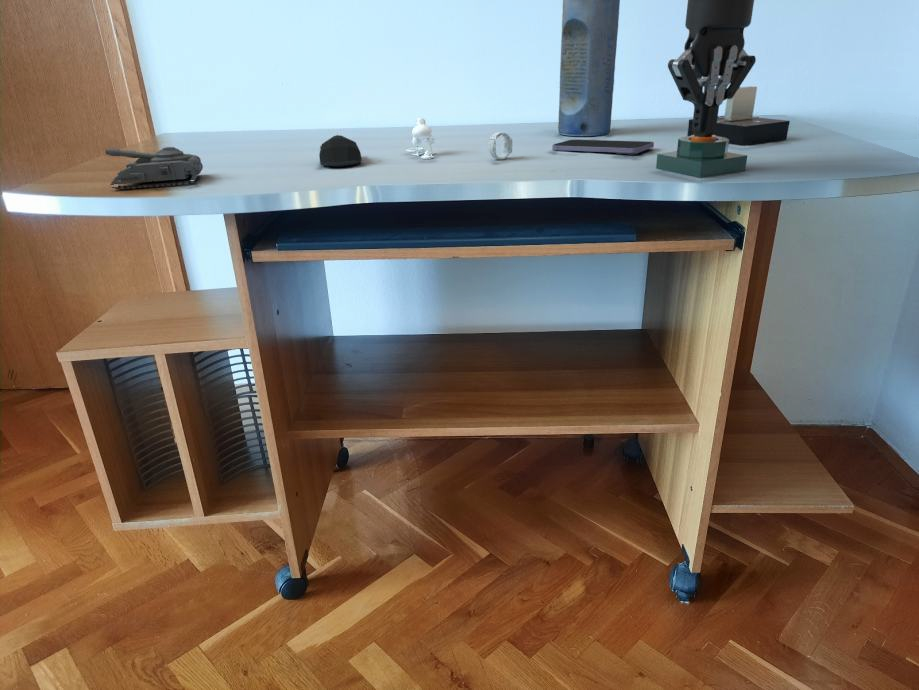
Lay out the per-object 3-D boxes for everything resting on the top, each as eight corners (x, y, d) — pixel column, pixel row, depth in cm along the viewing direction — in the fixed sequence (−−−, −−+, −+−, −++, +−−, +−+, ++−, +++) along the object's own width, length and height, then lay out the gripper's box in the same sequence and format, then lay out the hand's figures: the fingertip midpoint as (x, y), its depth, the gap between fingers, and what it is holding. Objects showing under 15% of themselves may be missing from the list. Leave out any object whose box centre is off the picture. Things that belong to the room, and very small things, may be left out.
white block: (745, 118, 108) (750, 84, 106) (752, 118, 107) (757, 85, 105) (723, 120, 106) (728, 86, 104) (730, 121, 105) (735, 87, 103)
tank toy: (107, 193, 86) (96, 153, 84) (121, 179, 94) (112, 143, 92) (200, 185, 89) (192, 146, 86) (207, 173, 97) (199, 137, 95)
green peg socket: (745, 171, 84) (750, 139, 82) (699, 178, 81) (703, 145, 79) (699, 162, 90) (703, 132, 89) (655, 168, 87) (658, 138, 86)
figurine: (432, 148, 110) (431, 114, 108) (439, 158, 101) (437, 121, 99) (406, 150, 109) (403, 116, 107) (410, 160, 101) (407, 123, 98)
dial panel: (786, 139, 105) (790, 119, 103) (742, 146, 101) (745, 125, 100) (729, 132, 115) (731, 113, 113) (686, 137, 111) (689, 118, 109)
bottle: (547, 134, 120) (551, -52, 107) (581, 128, 126) (589, -49, 113) (587, 138, 114) (597, -59, 101) (621, 132, 119) (634, -56, 106)
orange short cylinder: (720, 152, 84) (722, 135, 83) (701, 154, 83) (703, 138, 82) (701, 149, 86) (703, 133, 86) (683, 151, 85) (685, 135, 84)
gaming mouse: (357, 152, 110) (354, 127, 108) (363, 167, 97) (360, 139, 95) (320, 154, 109) (317, 130, 107) (320, 170, 96) (317, 142, 94)
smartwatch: (493, 161, 97) (494, 133, 95) (485, 159, 98) (485, 132, 97) (512, 158, 99) (513, 131, 97) (504, 157, 100) (504, 130, 98)
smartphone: (571, 139, 109) (656, 141, 101) (571, 146, 110) (655, 149, 101) (549, 145, 104) (637, 148, 95) (549, 152, 104) (637, 156, 96)
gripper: (704, -19, 71) (685, 144, 78) (788, -19, 76) (762, 134, 83) (657, -13, 77) (644, 137, 84) (737, -14, 82) (718, 128, 89)
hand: (703, 135), depth 84 cm, fingers closed
